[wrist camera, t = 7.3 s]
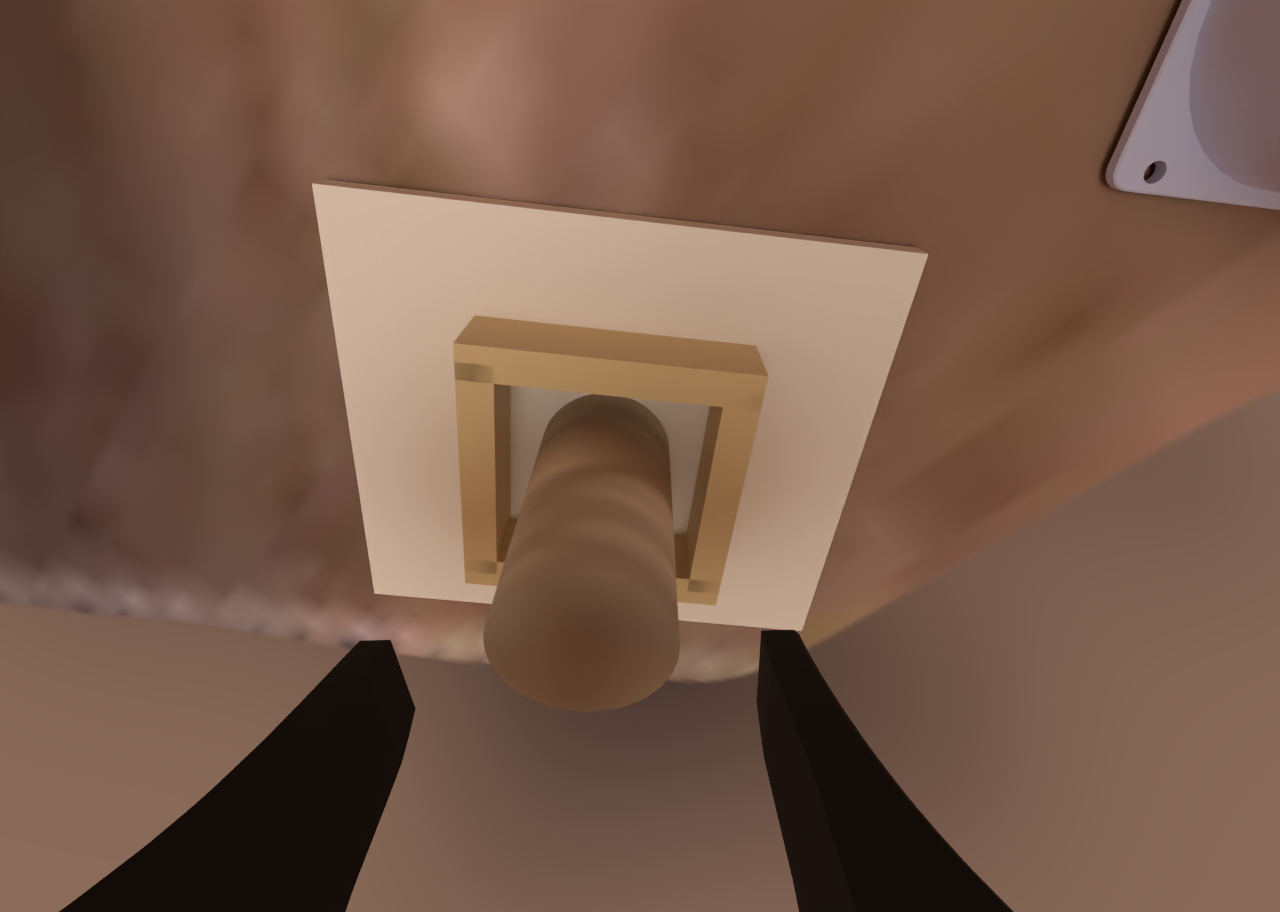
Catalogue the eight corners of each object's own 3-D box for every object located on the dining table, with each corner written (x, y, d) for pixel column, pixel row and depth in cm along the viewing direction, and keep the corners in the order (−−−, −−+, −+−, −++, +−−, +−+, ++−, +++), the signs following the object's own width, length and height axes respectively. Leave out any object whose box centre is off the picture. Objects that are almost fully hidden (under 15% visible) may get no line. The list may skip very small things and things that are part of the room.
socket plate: (917, 247, 17) (964, 275, 14) (797, 615, 24) (815, 678, 22) (326, 179, 16) (265, 196, 14) (382, 578, 23) (349, 639, 21)
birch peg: (667, 390, 18) (677, 570, 12) (670, 500, 20) (681, 709, 14) (534, 396, 19) (466, 576, 12) (550, 505, 21) (501, 712, 14)
